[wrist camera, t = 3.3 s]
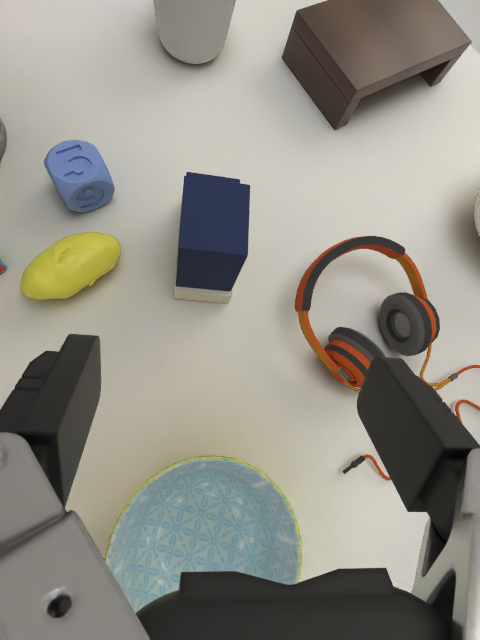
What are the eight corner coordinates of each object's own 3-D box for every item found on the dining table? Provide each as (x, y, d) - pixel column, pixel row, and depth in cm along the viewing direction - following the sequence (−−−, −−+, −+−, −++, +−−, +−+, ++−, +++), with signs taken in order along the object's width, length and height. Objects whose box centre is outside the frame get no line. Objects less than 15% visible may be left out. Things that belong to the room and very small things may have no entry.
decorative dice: (96, 164, 35) (87, 132, 31) (117, 201, 34) (111, 173, 30) (52, 181, 33) (37, 149, 30) (73, 219, 33) (61, 192, 29)
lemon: (134, 273, 33) (130, 253, 29) (40, 319, 30) (23, 304, 27) (110, 232, 33) (103, 208, 29) (16, 274, 31) (-4, 253, 27)
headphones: (479, 400, 38) (391, 213, 36) (535, 409, 33) (435, 192, 31) (347, 503, 33) (239, 295, 32) (387, 532, 28) (261, 285, 27)
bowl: (291, 595, 28) (323, 639, 22) (128, 647, 26) (117, 712, 20) (259, 435, 31) (280, 438, 25) (108, 469, 28) (92, 480, 23)
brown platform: (334, 130, 40) (357, 90, 36) (281, 57, 42) (296, 10, 37) (440, 82, 45) (472, 41, 40) (389, 18, 46) (414, -29, 41)
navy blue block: (228, 303, 33) (248, 261, 25) (173, 299, 33) (175, 253, 24) (232, 210, 36) (253, 142, 27) (181, 203, 35) (186, 132, 26)
